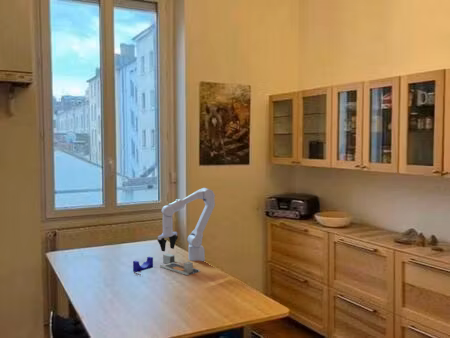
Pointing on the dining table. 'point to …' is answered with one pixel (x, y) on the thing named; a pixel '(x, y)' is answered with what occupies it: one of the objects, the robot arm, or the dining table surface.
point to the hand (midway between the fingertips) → (167, 249)
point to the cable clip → (143, 265)
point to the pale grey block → (168, 258)
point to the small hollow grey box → (188, 267)
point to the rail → (178, 268)
